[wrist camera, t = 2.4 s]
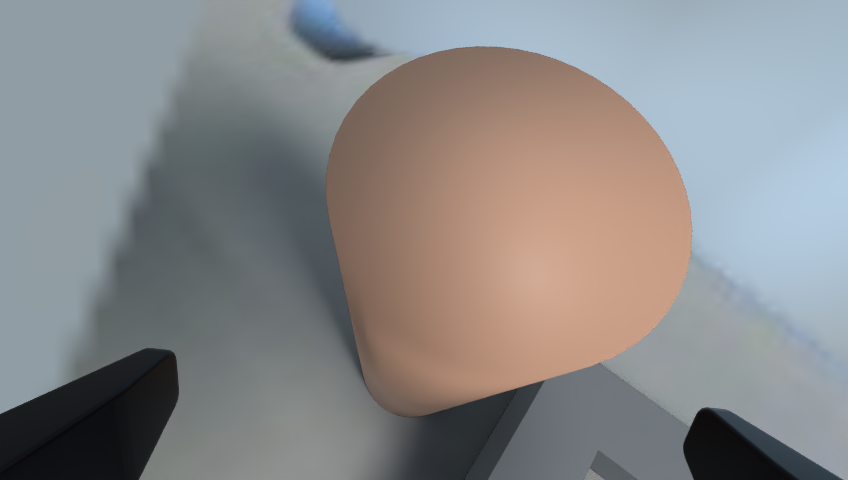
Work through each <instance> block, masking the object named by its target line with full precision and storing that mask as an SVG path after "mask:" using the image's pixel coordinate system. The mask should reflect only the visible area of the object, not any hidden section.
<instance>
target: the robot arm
mask: <svg viewBox="0 0 848 480" xmlns="http://www.w3.org/2000/svg"><path fill="white" fill-rule="evenodd" d="M178 396H179V384H178V372H177V360H176V356H175V354H174V352H172V351H171V350H164V349H155V348H146V349H143V350H141V351H138V352H136V353H134V354H132V355H130V356H127V357H125V358H123V359H121V360H119V361H116V362H114V363H112V364H110V365H108V366H105V367H103V368H101V369H99V370H97V371H94V372H92V373H90V374H88V375H85V376H83V377H81V378H79V379H77V380H74V381H72V382H70V383H68V384H66V385H63V386H61V387H59V388H57V389H55V390H52V391H50V392H48V393H46V394H44V395H41V396H39V397H37V398H35V399H32V400H30V401H28V402H26V403H24V404H22V405H19V406H17V407H15V408H13V409H10V410H8V411H6V412H4V413H2V414H0V480H139V479H140V476H141V474H142V472H143V470H144V468H145V466H146V464H147V462H148V460H149V458H150V456H151V454H152V452H153V450H154V448H155V446H156V444H157V442H158V440H159V438H160V436H161V434H162V432H163V430H164V428H165V426H166V424H167V422H168V420H169V418H170V416H171V414H172V412H173V410H174V408H175V406H176V403H177V400H178ZM683 452H684V457H685V460H686V462H687V465H688V467H689V470H690V472H691V475H692V477H693V480H843V479H841V478H839V477H838V476H836V475H834V474H833V473H831V472H829V471H828V470H826V469H825V468H823V467H821V466H820V465H818V464H816V463H815V462H813V461H811V460H810V459H808V458H806V457H805V456H803V455H801V454H800V453H798V452H797V451H795V450H793V449H792V448H790V447H788V446H787V445H785V444H783V443H782V442H780V441H778V440H777V439H775V438H773V437H772V436H770V435H769V434H767V433H765V432H764V431H762V430H760V429H759V428H757V427H755V426H754V425H752V424H750V423H749V422H747V421H745V420H744V419H742V418H740V417H739V416H737V415H736V414H734V413H732V412H730V411H728V410H725V409H717V408H708V407H706V408H702V409H701V410H699V411H698V413H697V414H696V416H695V418H694V421H693V423H692V425H691V427H690V429H689V431H688V433H687V435H686V438H685V440H684V443H683Z"/></svg>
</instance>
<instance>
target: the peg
mask: <svg viewBox="0 0 848 480" xmlns="http://www.w3.org/2000/svg"><path fill="white" fill-rule="evenodd" d="M326 201H327V207H328V214H329V221H330V225H331V230H332V235H333V239H334V244H335V248H336V253H337V258H338V262H339V267H340V271H341V276H342V280H343V285H344V290H345V294H346V299H347V303H348V308H349V313H350V317H351V322H352V326H353V331H354V335H355V340H356V345H357V349H358V354H359V358H360V363H361V368H362V372H363V377H364V380H365V384H366V386H367V388H368V391H369V392H370V394H371V395H372V397H373V398H374V399H375V401H376V402H377V403H378V404H379V405H381V406H382V407H383V408H385V409H386V410H387V411H389V412H391V413H393V414H396V415H399V416H404V417H420V416H425V415H428V414H432V413H435V412H439V411H442V410H445V409H449V408H452V407H455V406H459V405H462V404H465V403H469V402H472V401H475V400H479V399H482V398H486V397H489V396H492V395H496V394H499V393H502V392H506V391H509V390H512V389H516V388H519V387H523V386H526V385H529V384H533V383H536V382H539V381H543V380H546V379H549V378H553V377H556V376H560V375H563V374H566V373H570V372H573V371H576V370H580V369H583V368H586V367H590V366H592V365H595V364H597V363H600V362H602V361H605V360H607V359H610V358H612V357H615V356H616V355H618V354H620V353H621V352H623V351H625V350H626V349H628V348H630V347H631V346H633V345H635V344H636V343H637V342H638V341H640V340H641V339H642V338H643V337H644V336H645V335H647V334H648V333H649V332H650V331H651V330H653V329H654V327H655V326H656V325H657V324H658V323H659V321H660V320H661V319H662V318H663V317H664V316H665V314H666V313H667V312H668V310H669V309H670V307H671V305H672V304H673V302H674V300H675V299H676V297H677V295H678V293H679V291H680V289H681V286H682V284H683V281H684V278H685V276H686V273H687V269H688V264H689V259H690V255H691V245H692V222H691V211H690V206H689V202H688V197H687V193H686V189H685V186H684V184H683V181H682V178H681V175H680V173H679V170H678V168H677V166H676V164H675V162H674V160H673V158H672V156H671V154H670V152H669V151H668V149H667V148H666V146H665V145H664V143H663V142H662V140H661V139H660V137H659V136H658V134H657V133H656V131H655V130H654V129H653V128H652V127H651V125H650V124H649V123H648V122H647V121H646V119H645V118H644V117H643V116H642V115H641V114H640V113H639V112H638V111H637V110H636V109H635V108H634V107H633V106H632V105H631V104H630V103H629V102H628V101H626V100H625V99H624V98H623V97H621V96H620V95H619V94H618V93H616V92H615V91H614V90H613V89H611V88H610V87H608V86H607V85H605V84H604V83H602V82H600V81H599V80H597V79H596V78H594V77H593V76H591V75H589V74H587V73H585V72H583V71H581V70H579V69H578V68H576V67H573V66H571V65H568V64H566V63H564V62H561V61H559V60H556V59H553V58H550V57H547V56H544V55H540V54H537V53H533V52H528V51H523V50H519V49H511V48H503V47H478V46H477V47H465V48H455V49H450V50H445V51H439V52H436V53H433V54H429V55H426V56H423V57H419V58H417V59H415V60H413V61H410V62H408V63H406V64H404V65H401V66H400V67H398V68H396V69H395V70H393V71H391V72H390V73H388V74H386V75H385V76H383V77H382V78H381V79H380V80H378V81H377V82H376V83H375V84H373V85H372V86H371V87H370V88H369V89H368V90H367V91H366V92H365V93H364V94H363V95H362V96H361V97H360V98H359V99H358V100H357V101H356V103H355V104H354V105H353V107H352V108H351V110H350V111H349V112H348V114H347V115H346V117H345V118H344V120H343V122H342V124H341V126H340V128H339V130H338V132H337V134H336V136H335V140H334V143H333V146H332V149H331V152H330V155H329V161H328V168H327V174H326Z"/></svg>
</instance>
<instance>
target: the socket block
mask: <svg viewBox="0 0 848 480" xmlns="http://www.w3.org/2000/svg"><path fill="white" fill-rule="evenodd" d="M689 429H690V428H689V427H688V426H687V425H685V424H684V423H682V422H681V421H680V420H678V419H677V418H675V417H674V416H673V415H671V414H670V413H668V412H667V411H666V410H664V409H663V408H661V407H660V406H659V405H657V404H656V403H654V402H653V401H652V400H650V399H649V398H647V397H646V396H645V395H643V394H642V393H640V392H639V391H638V390H636V389H635V388H633V387H632V386H631V385H629V384H628V383H626V382H625V381H624V380H622V379H621V378H620V377H618V376H617V375H615V374H614V373H613V372H611V371H610V370H608V369H607V368H606V367H604V366H603V365H601V364H600V363H597V364H595V365H592V366H590V367H586V368H583V369H580V370H576V371H573V372H570V373H566V374H563V375H560V376H556V377H553V378H549V379H546V380H543V381H539V382H536V383H533V384H529V385H526V386H523V387H519V388H518V390H517V392H516V393H515V395H514V397H513V398H512V400H511V402H510V403H509V405H508V407H507V408H506V410H505V412H504V413H503V415H502V417H501V418H500V420H499V422H498V423H497V425H496V427H495V428H494V430H493V432H492V433H491V435H490V437H489V438H488V440H487V442H486V443H485V445H484V447H483V448H482V450H481V452H480V453H479V455H478V457H477V458H476V460H475V462H474V463H473V465H472V467H471V468H470V470H469V472H468V473H467V475H466V477H465V478H464V480H584V479H585V476H586V474H587V472H588V470H589V468H591V469H592V470H593V471H595V472H596V473H597V474H598V475H600V476H601V477H602V478H604V479H605V480H693V477H692V475H691V472H690V470H689V467H688V465H687V462H686V460H685V457H684V452H683V443H684V440H685V438H686V435H687V433H688V431H689Z"/></svg>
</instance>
